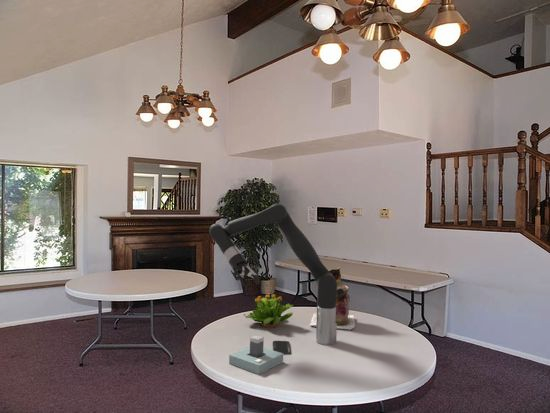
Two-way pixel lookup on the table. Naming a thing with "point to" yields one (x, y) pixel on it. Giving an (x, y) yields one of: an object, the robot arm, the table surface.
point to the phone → (281, 347)
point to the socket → (256, 360)
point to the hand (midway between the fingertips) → (253, 284)
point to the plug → (256, 346)
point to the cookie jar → (340, 305)
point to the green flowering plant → (269, 311)
